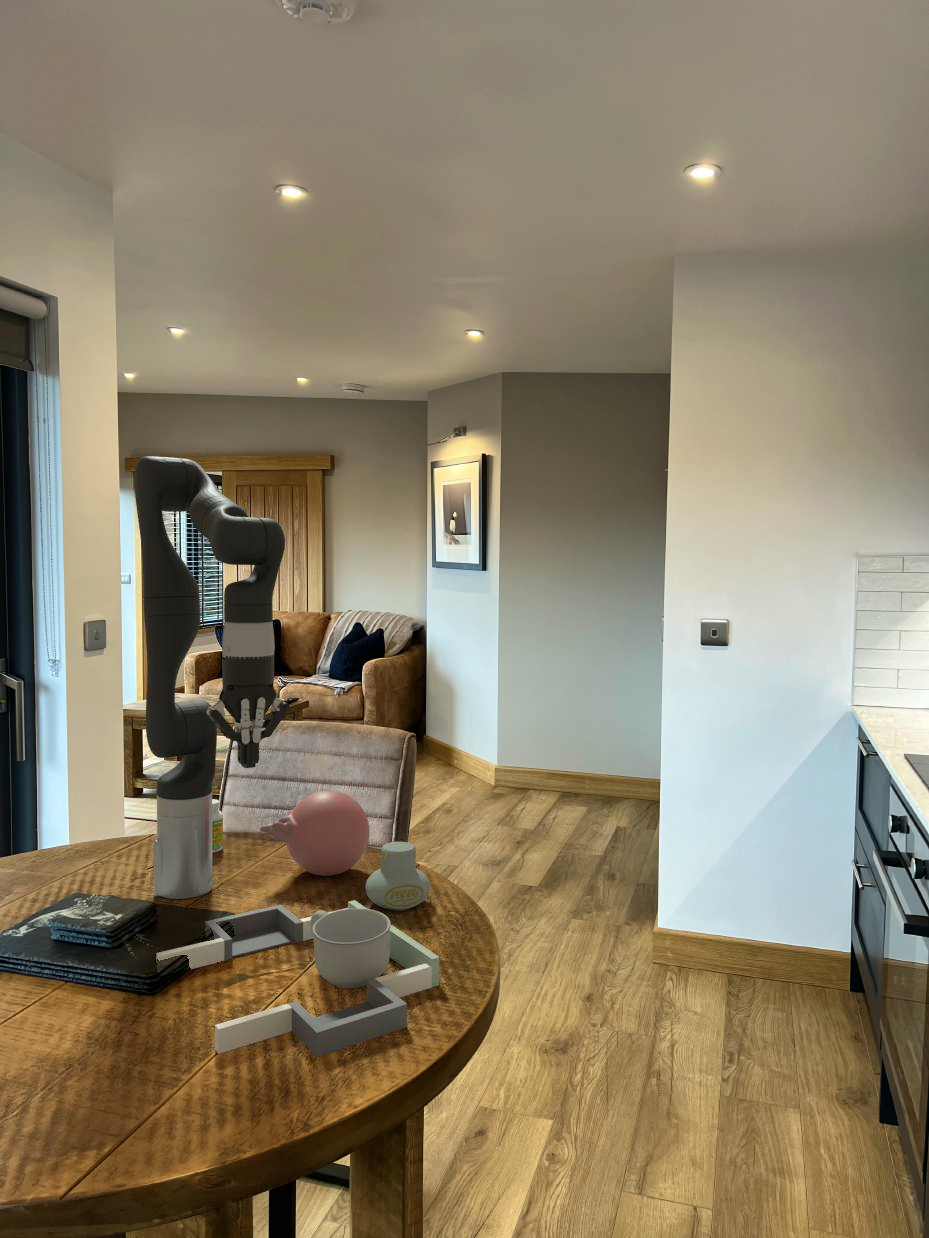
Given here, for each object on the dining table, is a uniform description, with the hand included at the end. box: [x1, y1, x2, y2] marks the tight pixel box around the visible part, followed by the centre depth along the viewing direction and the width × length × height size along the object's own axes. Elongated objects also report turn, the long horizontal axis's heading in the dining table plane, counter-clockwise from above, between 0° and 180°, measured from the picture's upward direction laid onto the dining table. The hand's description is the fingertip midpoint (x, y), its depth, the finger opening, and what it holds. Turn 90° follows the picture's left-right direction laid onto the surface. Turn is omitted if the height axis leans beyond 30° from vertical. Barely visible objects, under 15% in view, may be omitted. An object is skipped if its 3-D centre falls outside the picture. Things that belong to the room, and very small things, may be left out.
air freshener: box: [365, 841, 431, 912], centre depth 152 cm, size 11×8×10 cm
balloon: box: [259, 789, 371, 877], centre depth 165 cm, size 15×20×15 cm
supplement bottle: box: [212, 798, 224, 854], centre depth 179 cm, size 5×5×10 cm
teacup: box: [310, 908, 392, 989], centre depth 126 cm, size 14×11×8 cm
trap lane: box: [156, 900, 440, 1058], centre depth 124 cm, size 31×38×4 cm
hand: (248, 766), depth 135 cm, fingers closed
